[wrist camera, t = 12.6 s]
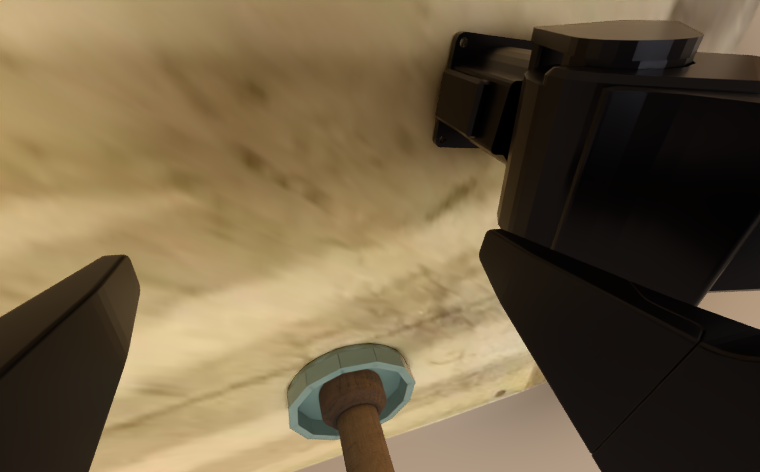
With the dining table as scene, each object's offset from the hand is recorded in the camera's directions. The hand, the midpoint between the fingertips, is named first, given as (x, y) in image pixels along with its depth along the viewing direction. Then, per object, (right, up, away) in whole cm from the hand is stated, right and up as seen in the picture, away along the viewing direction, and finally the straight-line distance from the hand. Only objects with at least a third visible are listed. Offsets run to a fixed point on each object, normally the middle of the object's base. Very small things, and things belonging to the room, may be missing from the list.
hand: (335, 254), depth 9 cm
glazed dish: (-2, -15, +26) cm, 30 cm away
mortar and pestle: (-2, -15, +26) cm, 30 cm away
